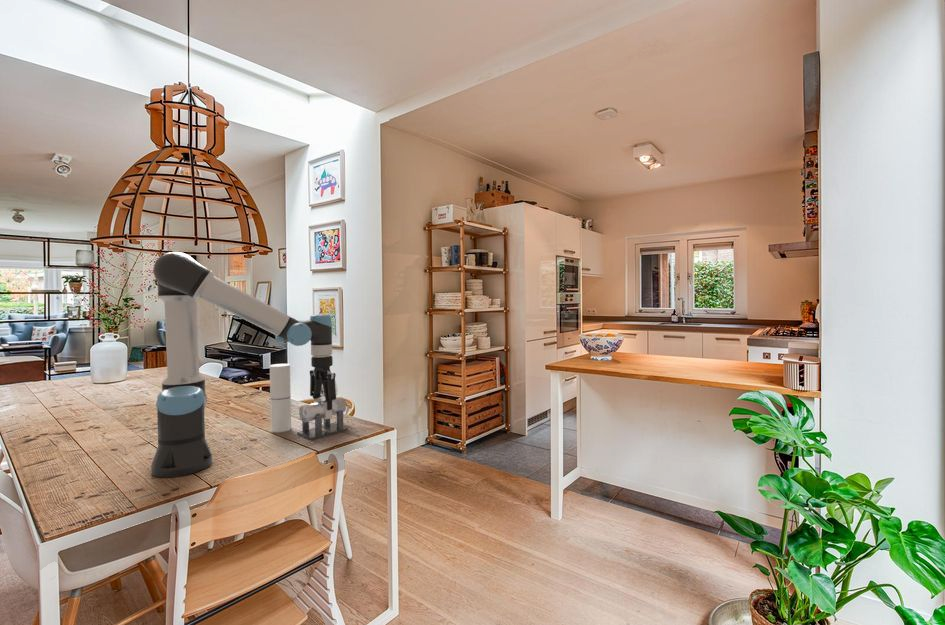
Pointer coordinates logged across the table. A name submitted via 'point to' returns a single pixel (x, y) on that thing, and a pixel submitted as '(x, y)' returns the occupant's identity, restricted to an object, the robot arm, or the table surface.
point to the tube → (320, 409)
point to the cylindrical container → (280, 397)
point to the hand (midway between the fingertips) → (323, 416)
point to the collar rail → (322, 427)
